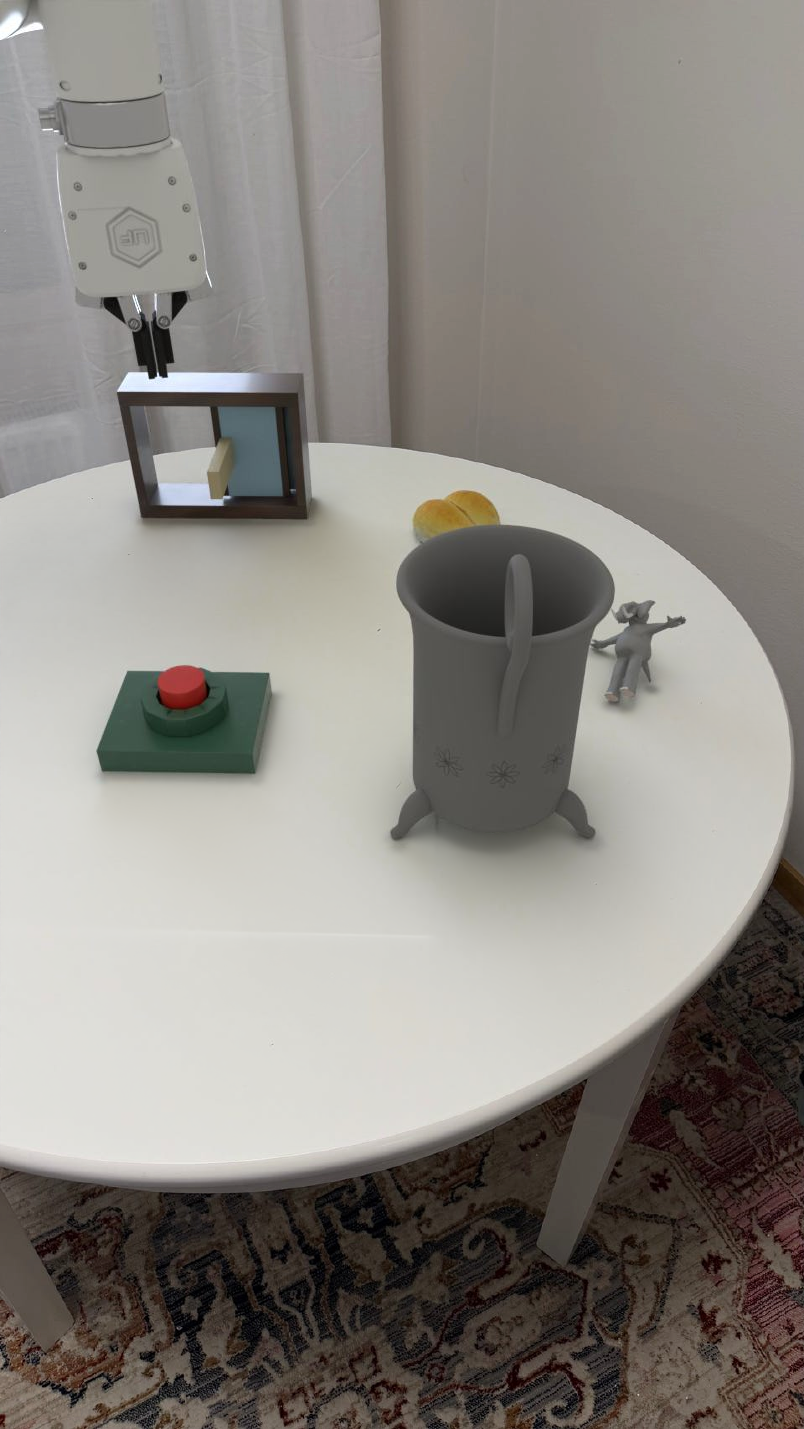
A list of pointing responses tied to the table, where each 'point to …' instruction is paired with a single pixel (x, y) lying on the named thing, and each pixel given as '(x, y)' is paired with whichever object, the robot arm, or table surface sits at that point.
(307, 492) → the window frame
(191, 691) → the button
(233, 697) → the button box
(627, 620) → the elephant figurine
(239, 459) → the window pane
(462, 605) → the mug
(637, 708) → the table surface
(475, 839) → the table surface
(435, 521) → the bread roll
